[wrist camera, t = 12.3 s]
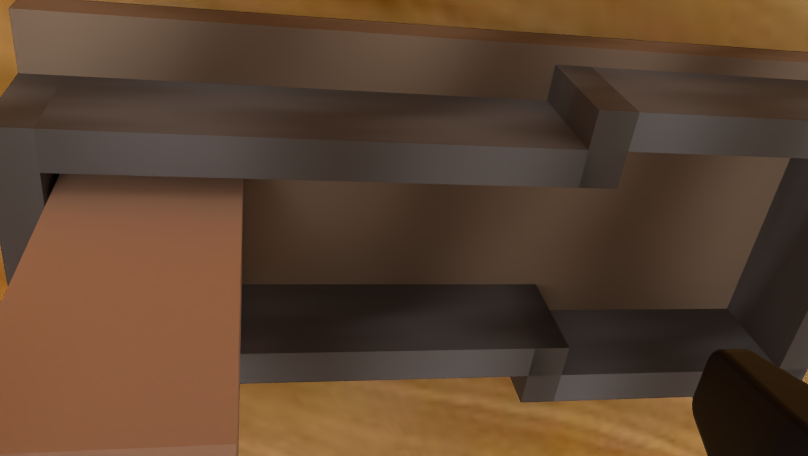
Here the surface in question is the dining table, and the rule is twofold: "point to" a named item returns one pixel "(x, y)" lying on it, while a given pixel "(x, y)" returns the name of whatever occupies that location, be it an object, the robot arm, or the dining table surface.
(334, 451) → the dining table surface
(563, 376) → the keyhole board
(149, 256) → the peg
